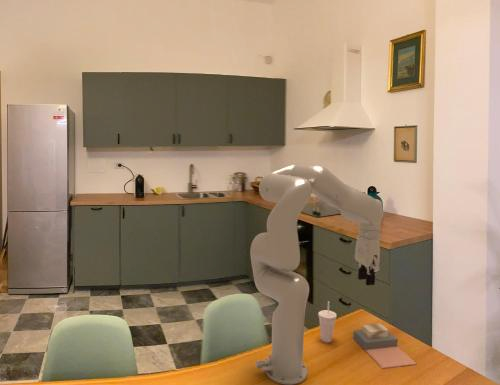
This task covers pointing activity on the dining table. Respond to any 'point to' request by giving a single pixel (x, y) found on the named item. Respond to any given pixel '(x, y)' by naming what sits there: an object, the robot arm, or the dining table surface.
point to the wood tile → (375, 331)
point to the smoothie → (327, 324)
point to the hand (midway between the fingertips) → (366, 281)
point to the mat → (390, 357)
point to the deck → (374, 341)
